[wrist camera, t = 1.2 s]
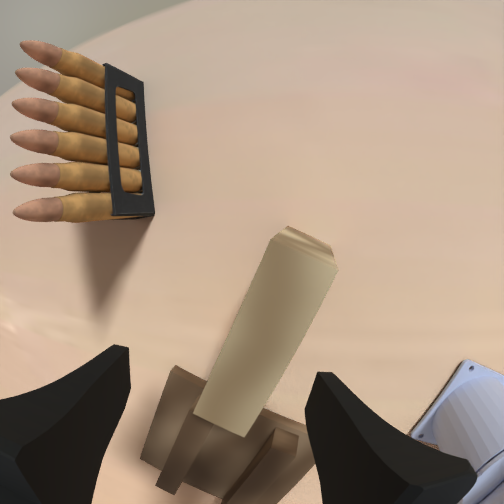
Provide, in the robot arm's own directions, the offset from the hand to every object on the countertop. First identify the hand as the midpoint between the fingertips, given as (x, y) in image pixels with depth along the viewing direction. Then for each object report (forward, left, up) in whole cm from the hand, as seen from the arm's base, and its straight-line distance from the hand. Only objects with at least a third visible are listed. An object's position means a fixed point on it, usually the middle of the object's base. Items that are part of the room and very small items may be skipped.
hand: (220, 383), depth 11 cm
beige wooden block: (-1, 0, -11) cm, 11 cm away
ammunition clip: (+13, -6, -11) cm, 18 cm away
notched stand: (-3, +15, -11) cm, 18 cm away
